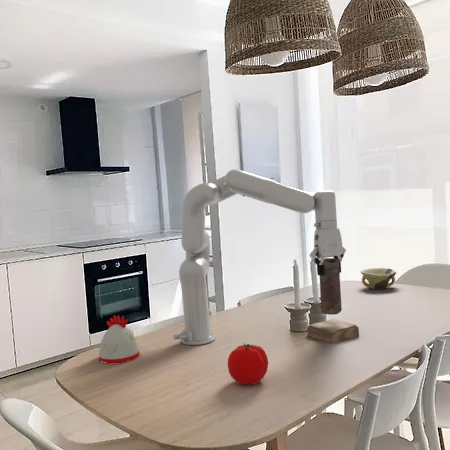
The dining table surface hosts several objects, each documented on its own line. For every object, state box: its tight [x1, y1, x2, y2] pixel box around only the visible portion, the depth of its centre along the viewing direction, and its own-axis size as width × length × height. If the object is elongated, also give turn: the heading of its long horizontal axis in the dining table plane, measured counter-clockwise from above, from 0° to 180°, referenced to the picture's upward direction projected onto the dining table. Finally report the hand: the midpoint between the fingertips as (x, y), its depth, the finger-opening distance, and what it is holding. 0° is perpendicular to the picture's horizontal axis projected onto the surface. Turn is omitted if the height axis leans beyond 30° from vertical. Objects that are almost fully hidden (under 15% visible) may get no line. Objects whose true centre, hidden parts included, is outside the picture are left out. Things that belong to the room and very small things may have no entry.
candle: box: [319, 257, 343, 316], centre depth 178 cm, size 8×7×20 cm
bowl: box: [360, 267, 397, 290], centre depth 255 cm, size 18×18×10 cm
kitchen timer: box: [98, 314, 141, 364], centre depth 172 cm, size 14×14×15 cm
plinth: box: [306, 318, 360, 344], centre depth 179 cm, size 13×13×4 cm
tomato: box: [227, 343, 269, 386], centre depth 141 cm, size 12×12×11 cm
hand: (329, 273), depth 178 cm, fingers closed on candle, 7 cm apart
